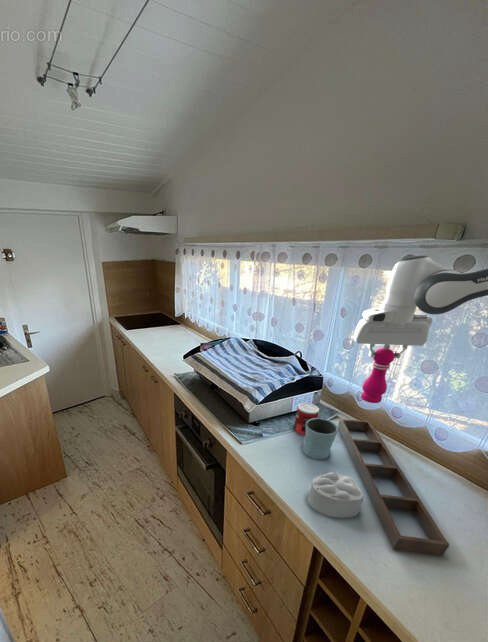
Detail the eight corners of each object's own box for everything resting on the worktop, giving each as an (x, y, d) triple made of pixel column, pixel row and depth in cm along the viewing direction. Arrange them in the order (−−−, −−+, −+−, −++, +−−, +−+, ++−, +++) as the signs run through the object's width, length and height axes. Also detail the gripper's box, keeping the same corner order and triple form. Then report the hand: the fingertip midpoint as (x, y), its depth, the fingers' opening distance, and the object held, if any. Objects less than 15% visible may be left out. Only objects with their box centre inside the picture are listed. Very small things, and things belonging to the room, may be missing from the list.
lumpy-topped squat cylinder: (361, 519, 84) (370, 496, 80) (314, 519, 84) (320, 496, 80) (345, 491, 93) (352, 469, 89) (302, 491, 93) (307, 469, 89)
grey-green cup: (328, 447, 113) (335, 419, 107) (332, 464, 104) (340, 435, 98) (299, 443, 115) (305, 416, 109) (301, 460, 106) (307, 431, 101)
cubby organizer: (366, 431, 121) (370, 421, 119) (441, 558, 74) (449, 545, 71) (337, 429, 123) (340, 418, 121) (391, 551, 75) (398, 538, 73)
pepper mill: (382, 397, 108) (400, 342, 99) (382, 406, 103) (400, 349, 93) (360, 392, 112) (375, 339, 102) (358, 401, 106) (374, 345, 97)
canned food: (300, 423, 127) (304, 400, 122) (318, 432, 121) (323, 408, 116) (289, 430, 123) (293, 406, 117) (307, 439, 117) (312, 415, 112)
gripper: (429, 312, 94) (414, 355, 101) (357, 311, 98) (347, 352, 104) (440, 317, 89) (423, 362, 95) (364, 315, 92) (353, 359, 99)
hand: (383, 357), depth 100 cm, fingers closed on pepper mill, 6 cm apart
